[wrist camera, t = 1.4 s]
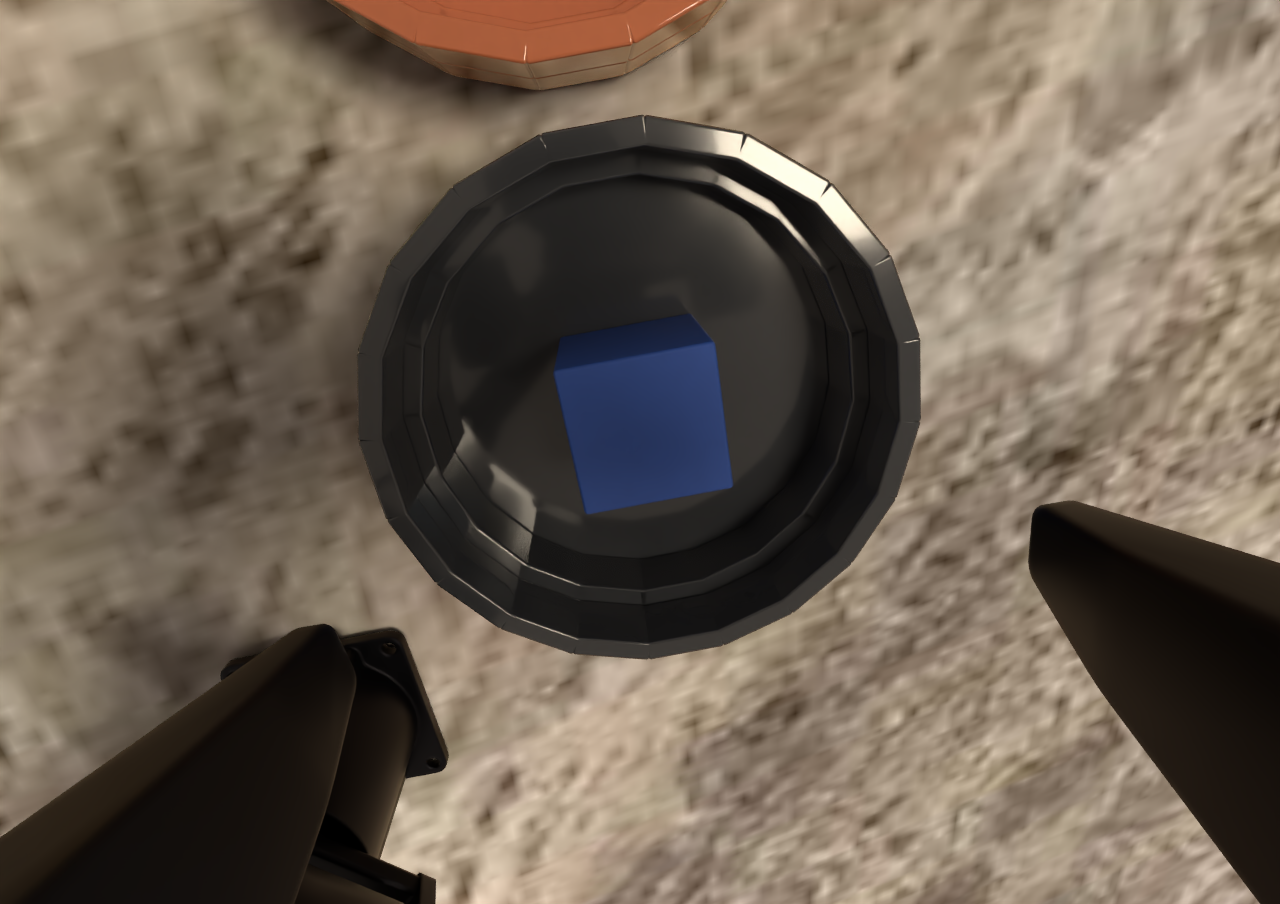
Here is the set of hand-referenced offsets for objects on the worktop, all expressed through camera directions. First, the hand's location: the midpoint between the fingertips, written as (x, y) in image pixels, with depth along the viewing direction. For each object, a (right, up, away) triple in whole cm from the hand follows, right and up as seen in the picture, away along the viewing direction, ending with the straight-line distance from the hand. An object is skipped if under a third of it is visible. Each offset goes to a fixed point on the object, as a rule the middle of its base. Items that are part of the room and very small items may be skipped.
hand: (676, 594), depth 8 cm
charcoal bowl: (-1, +4, +12) cm, 13 cm away
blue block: (-1, +4, +12) cm, 13 cm away
